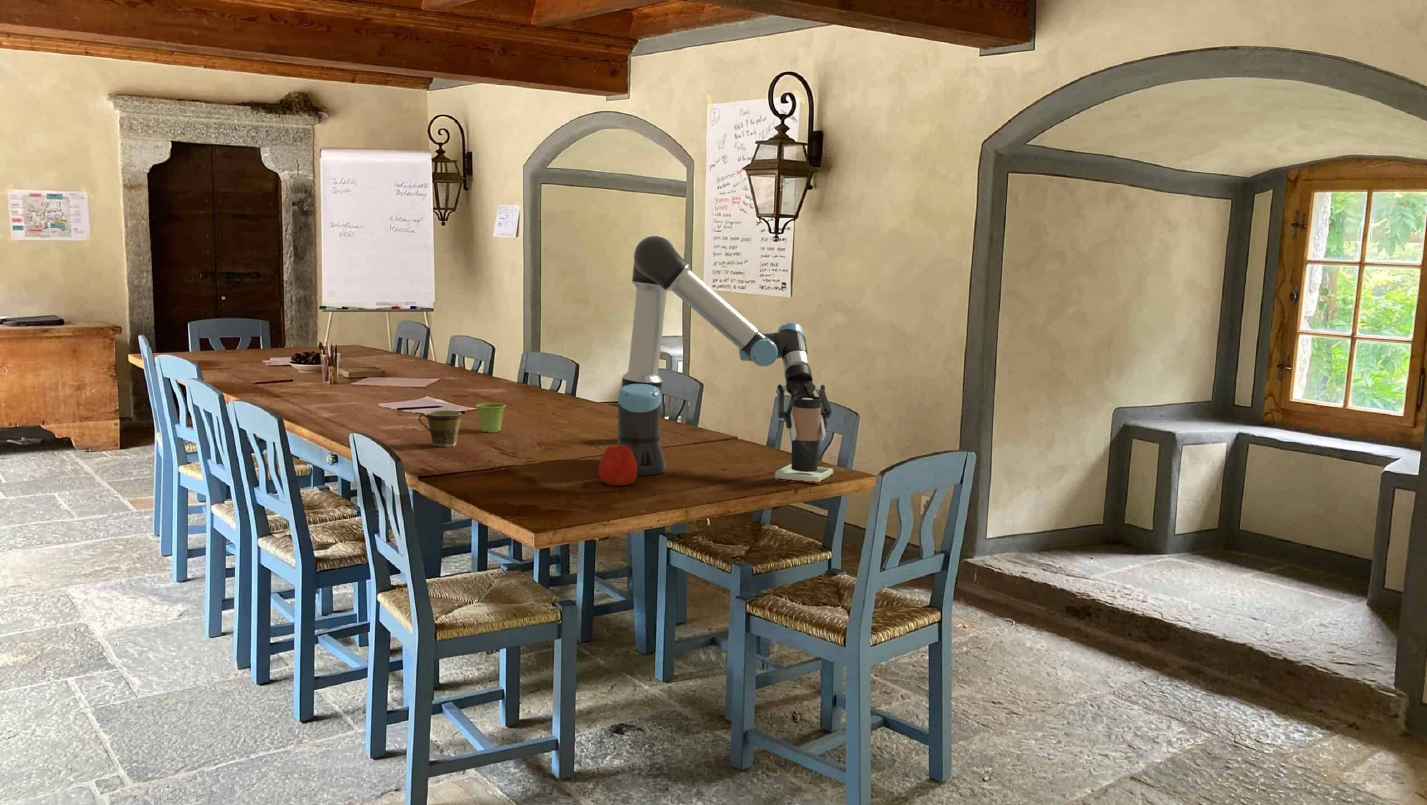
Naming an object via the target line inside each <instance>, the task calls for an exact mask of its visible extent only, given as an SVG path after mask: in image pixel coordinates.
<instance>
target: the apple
mask: <svg viewBox="0 0 1427 805" xmlns="http://www.w3.org/2000/svg"><path fill="white" fill-rule="evenodd" d="M637 468H638V467H637V462H636V459H635V457H634V454H633V452H632V451H631V449H630V448H629V447H627V446H626V445H617V444H616V445H610V446H608V447H607V448H606V449H605V450H604V452H603V454H602V455H601V459H600V461H599V465H598V474H599V477H600V479H601V481H603V483H605V484H606V485H608V486H614V487H621V486H622V487H623V486H624V487H625V486H629V485H632V484H633V483H635V481H636V479H637V477H638V475H637Z"/></svg>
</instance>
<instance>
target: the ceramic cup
mask: <svg viewBox="0 0 1427 805" xmlns="http://www.w3.org/2000/svg"><path fill="white" fill-rule="evenodd" d="M421 417H425V419H427V421H428V425H429V426H427V425H426V424H425V423H424V422H422V420H421ZM461 420H462V412H460V411H457V410H456V411H455V410H434V411H429V412H427V413H426V414H425V413H423V414H420V415H419V416H418V421H419V423H420V424H421V425H423V427H425V429H426V430H428V431H429V433H430V435H431V441H432V446H433V445H434V446H433V447H435V446H440V447H439V448H441V447H447V446H454V447H456V446H457V442H458V435H459V429H460V425H461V424H460V423H461ZM455 445H456V446H455ZM447 448H448V447H447Z"/></svg>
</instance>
